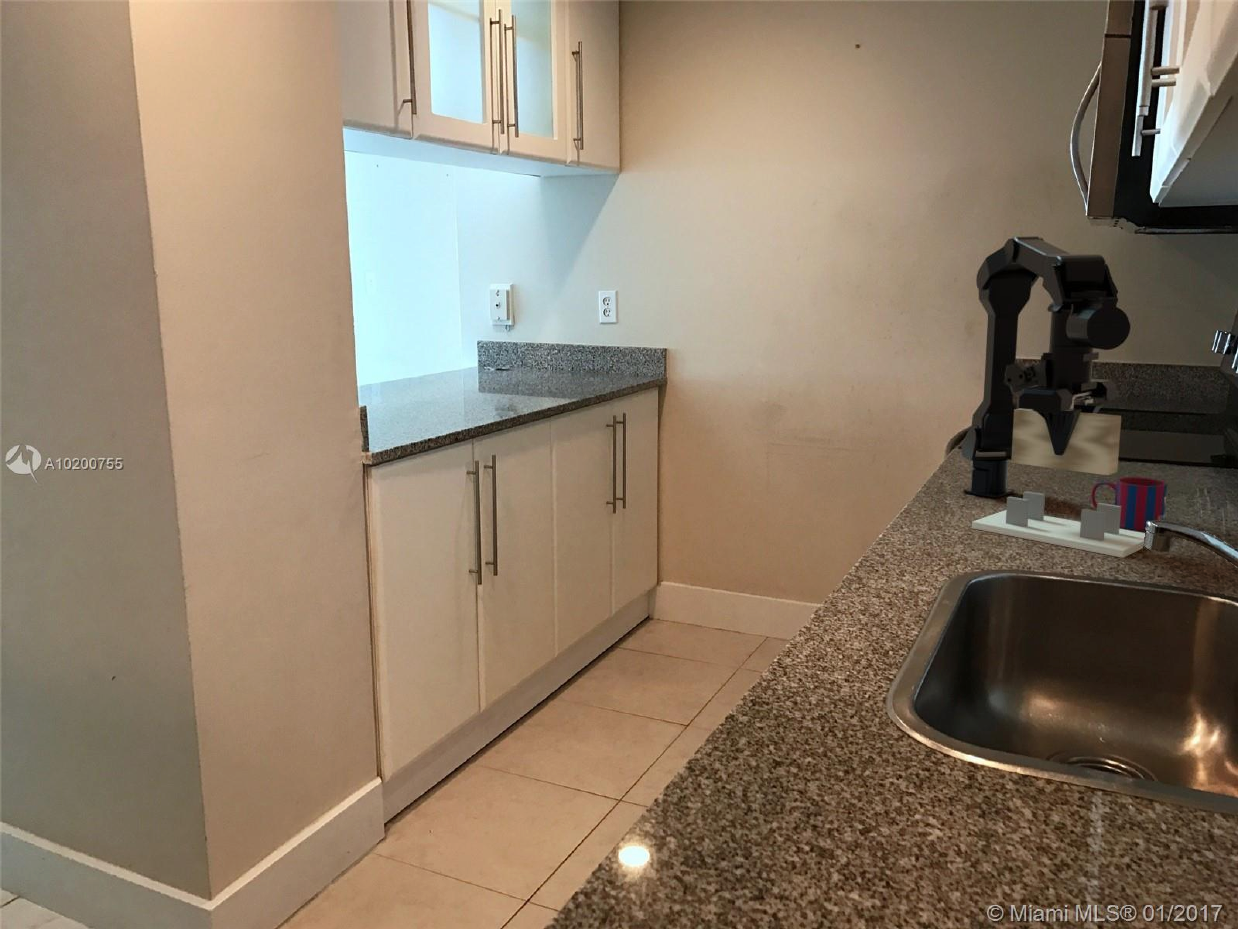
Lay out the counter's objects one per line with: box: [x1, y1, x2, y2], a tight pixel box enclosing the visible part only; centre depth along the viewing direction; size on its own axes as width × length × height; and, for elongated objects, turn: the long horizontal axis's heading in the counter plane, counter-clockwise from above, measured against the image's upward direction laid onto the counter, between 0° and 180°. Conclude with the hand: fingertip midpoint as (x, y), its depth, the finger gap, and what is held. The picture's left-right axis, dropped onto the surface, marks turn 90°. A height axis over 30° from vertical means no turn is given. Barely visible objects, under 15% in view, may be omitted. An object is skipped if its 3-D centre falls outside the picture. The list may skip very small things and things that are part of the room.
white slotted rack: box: [971, 490, 1146, 559], centre depth 141 cm, size 11×22×5 cm, turn 41°
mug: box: [1090, 476, 1168, 532], centre depth 146 cm, size 7×10×7 cm
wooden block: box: [1010, 408, 1122, 476], centre depth 139 cm, size 14×4×8 cm, turn 41°
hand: (1064, 453), depth 139 cm, fingers closed on wooden block, 3 cm apart
